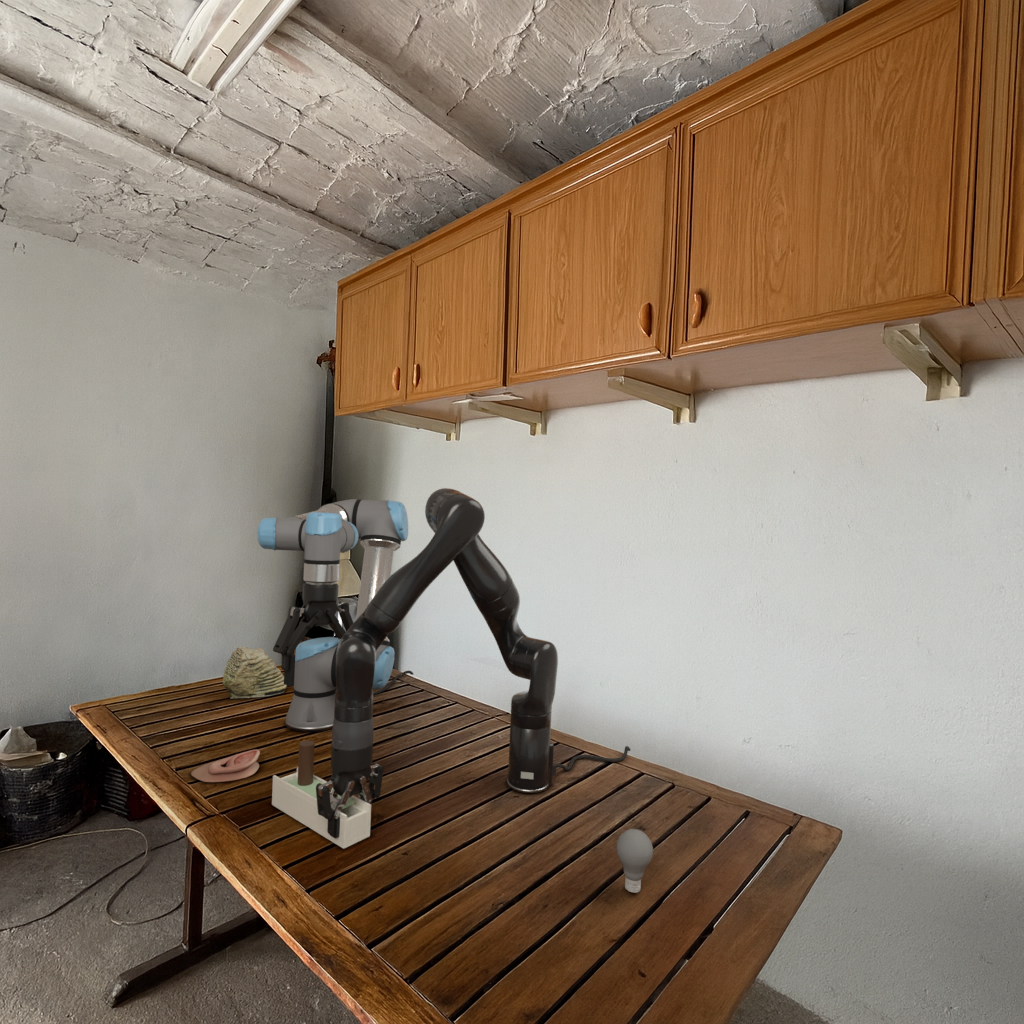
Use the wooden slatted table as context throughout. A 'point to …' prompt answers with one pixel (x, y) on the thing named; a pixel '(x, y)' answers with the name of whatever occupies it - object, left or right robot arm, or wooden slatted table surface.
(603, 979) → the wooden slatted table surface
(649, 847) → the light bulb
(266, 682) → the fossil
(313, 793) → the sliding lid
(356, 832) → the pencil box
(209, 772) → the anatomical model
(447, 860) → the wooden slatted table surface
